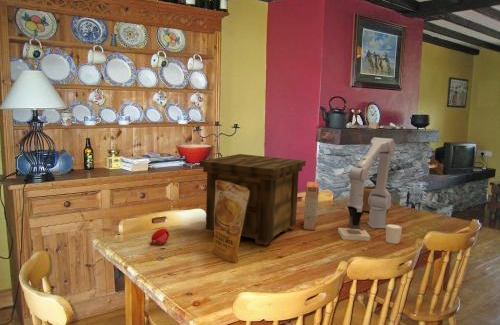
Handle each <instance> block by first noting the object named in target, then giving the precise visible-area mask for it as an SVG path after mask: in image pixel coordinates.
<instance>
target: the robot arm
mask: <svg viewBox="0 0 500 325" xmlns="http://www.w3.org/2000/svg"><path fill="white" fill-rule="evenodd" d="M395 147H396V142H395V141H394V138H385V137H376V136H374V137H372V138H371V140H370V147H369V150H368V151H367V153H366V155H365V156H362V157H361V158H360V160H359V161H358V162H357V164H356V165H355V166H354V167H352V168H350V170H349V173H348V178H349V184H350V188H349V189H350V190H349V202H347V203H346V206H347V209H348V212H349V217H350V216H352V220H353V225H357V226H358V224H359V221H360V222H361V220H360V218H362V216H363V215H364V213H365V211H364V210H362V207H363V192H364V186H365V181H366V180H367V178H368V175H369V171H370V170H371V168H372V166H373V165H374V160H375V159H376V157H377V156H378V157H379V160H378V166H377V175H376V181H375V186H376V188H375V189H374V190H372V191H371V192H370V196H369V198H368V204H369V206H370V208H371V209H370V212H369V216H368V221H366V223H367V224H368V226H370V228H372V229H386V225H387V224H386V221H387V220H386V218H387V213H386V211H387V210H388V209H389V210H390V208H391V206H392V193H391V192H389V191H388V189H387V184H388V177H389V169H390V163H391V162H390V161H391V157H392V156H394V154H395ZM376 194H378V195H376Z"/></svg>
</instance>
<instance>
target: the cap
mask: <svg viewBox="0 0 500 325" xmlns="http://www.w3.org/2000/svg"><path fill="white" fill-rule="evenodd" d="M150 238H151V241H150V245H152V244H153V243H154V242H156V243H158V244H161V245H162V246H165V245H166V242H167V241H168V239H169V238H170V232H169V230H168V229H167V228H160V229H158V230H157V231H155V232H154V233H153V234H152V236H151V237H150Z"/></svg>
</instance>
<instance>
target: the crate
mask: <svg viewBox="0 0 500 325" xmlns="http://www.w3.org/2000/svg"><path fill="white" fill-rule="evenodd" d="M306 163H307V160H301V159H294V158H293V159H292V158H285V157H284V158H282V157H272V156H262V155H252V154H244V153H238V154H232V155H227V156H222V157H216V158H210V159H204V160H200V161H199V167H202V168H203V170H202V172H203V173H206V202H205V203H206V206H205V207H206V208H205V209H206V211H205V230H207V231H212V234H213V235H214V208H215V181H217V180H222V181H226V182H230V183H233V184H236V185H240V186H244V187H247V188H248V189H249V191H250V197H249V201H248V204H247V208H246V213H245V219H244V222H243V227H242V232H241V236H240V237H246V238H249V239H251V238H252V239H255V242H254V243H255V244H257V245H264V246H267V245H268V244H269V243H271V241H273V240H274V238H275V236H277V235H279V234H280V233H281V232H283V233H286V232H288V231H290V227H291V228H292V227H293V226H296V225H297V209H298V208H297V207H298V189H299V174H300V173H299V172H303V167H305V166H306V165H307V164H306Z"/></svg>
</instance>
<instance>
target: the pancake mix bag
mask: <svg viewBox="0 0 500 325" xmlns="http://www.w3.org/2000/svg"><path fill="white" fill-rule="evenodd" d="M249 197H250V191H249V189H248V188H247V187H244V186H240V185H236V184H233V183H230V182H226V181H222V180H217V181H215V208H214V234H213V240H212V241H213V242H212V253H213V254H214V255H216V256H218V257H219V258H221V259H223V260H224V261H225V262H226V261H227V262H228V263H237V264H238V262H239V258H238V250H239V247H240V242H241V237H242V236H241V232H242V227H243V222H244V219H245V213H246V208H247V204H248V201H249Z"/></svg>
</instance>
